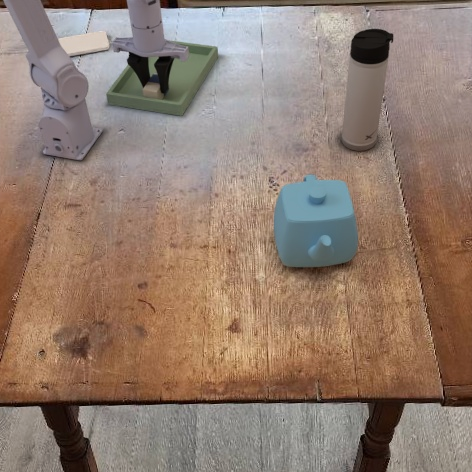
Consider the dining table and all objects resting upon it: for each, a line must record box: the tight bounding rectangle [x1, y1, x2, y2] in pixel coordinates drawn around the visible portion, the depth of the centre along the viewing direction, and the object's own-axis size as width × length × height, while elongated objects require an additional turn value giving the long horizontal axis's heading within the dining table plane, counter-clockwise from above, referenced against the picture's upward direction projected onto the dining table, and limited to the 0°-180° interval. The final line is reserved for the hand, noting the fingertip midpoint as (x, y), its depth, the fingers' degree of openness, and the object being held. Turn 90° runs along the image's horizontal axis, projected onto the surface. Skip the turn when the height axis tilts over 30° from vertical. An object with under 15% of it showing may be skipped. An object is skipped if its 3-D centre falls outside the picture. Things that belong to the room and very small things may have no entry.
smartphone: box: [57, 30, 110, 57], centre depth 147 cm, size 7×1×15 cm
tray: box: [105, 39, 219, 117], centre depth 137 cm, size 22×16×2 cm
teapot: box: [273, 173, 359, 268], centre depth 102 cm, size 12×18×12 cm
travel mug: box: [341, 28, 394, 152], centre depth 115 cm, size 6×7×20 cm
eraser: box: [143, 73, 170, 100], centre depth 133 cm, size 6×3×3 cm, turn 162°
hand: (156, 89), depth 133 cm, fingers closed on eraser, 3 cm apart
